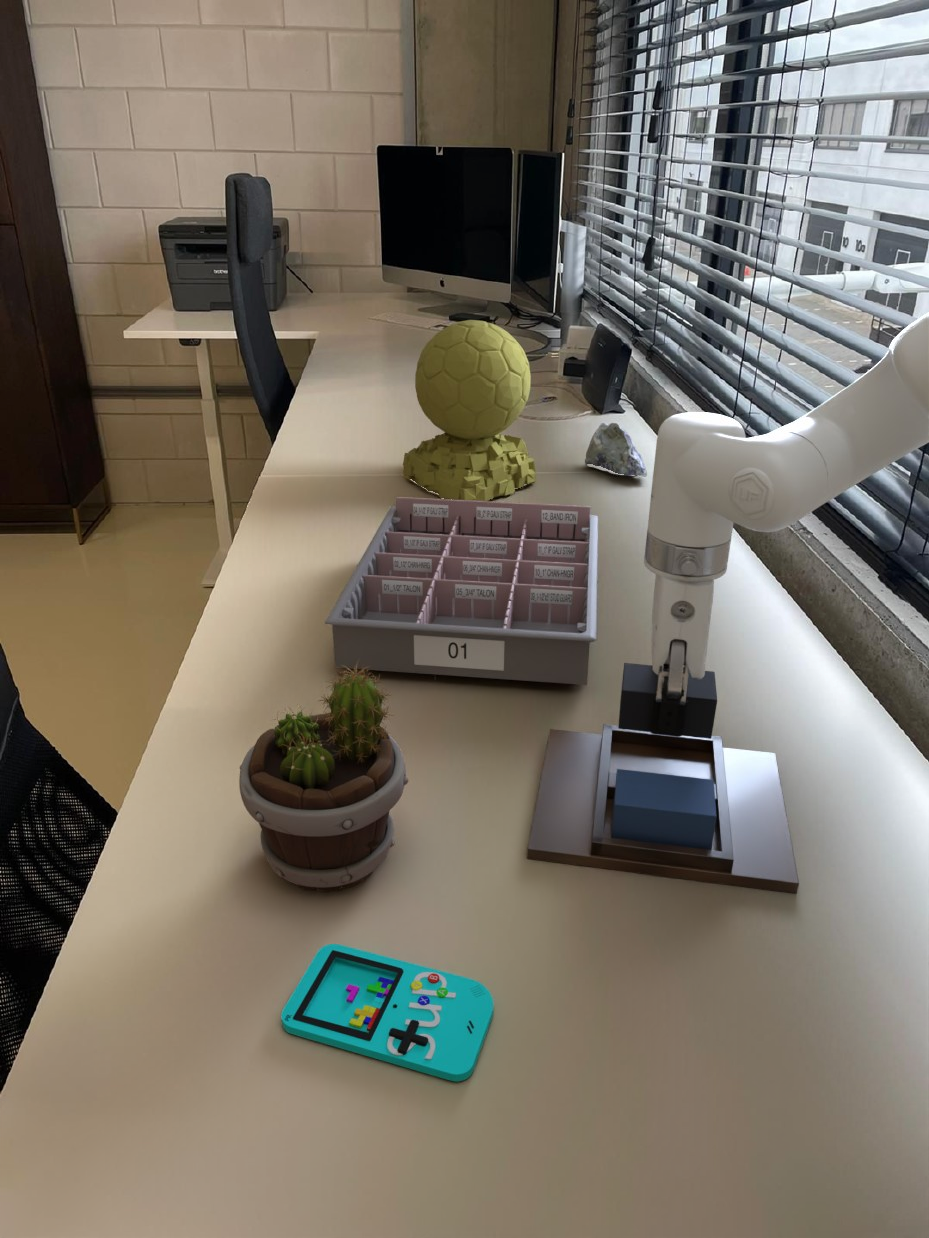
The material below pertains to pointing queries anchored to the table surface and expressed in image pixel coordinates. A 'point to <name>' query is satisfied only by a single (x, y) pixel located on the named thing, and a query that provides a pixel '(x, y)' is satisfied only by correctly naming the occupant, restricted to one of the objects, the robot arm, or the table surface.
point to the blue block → (664, 809)
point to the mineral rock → (614, 451)
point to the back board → (743, 779)
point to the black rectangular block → (643, 687)
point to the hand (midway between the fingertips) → (665, 714)
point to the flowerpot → (327, 788)
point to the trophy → (471, 413)
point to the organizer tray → (473, 592)
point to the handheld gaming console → (391, 1011)
